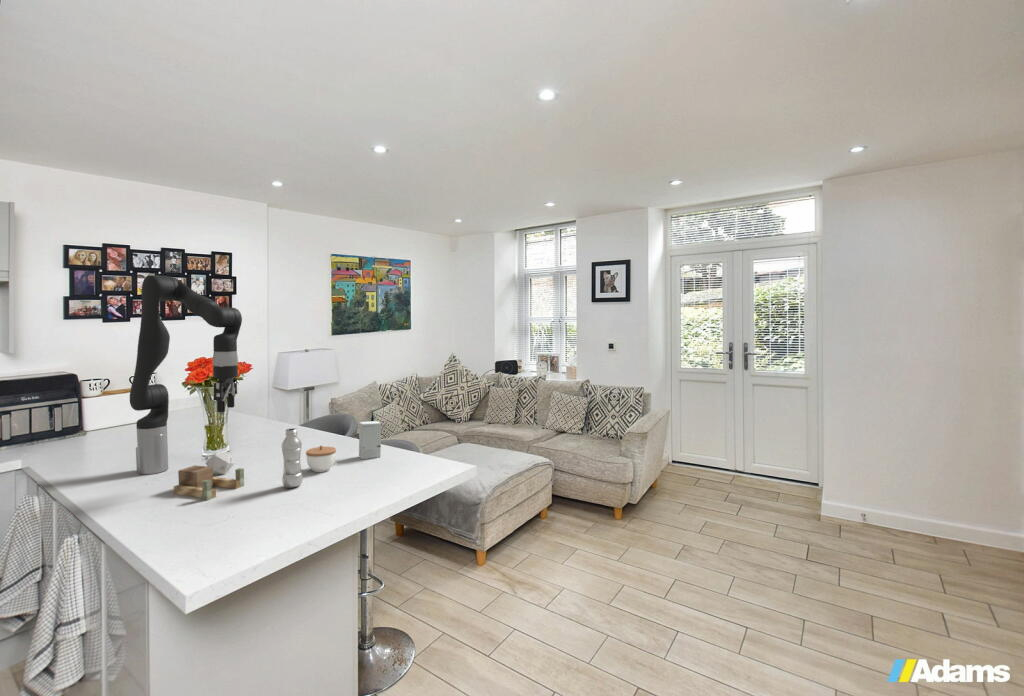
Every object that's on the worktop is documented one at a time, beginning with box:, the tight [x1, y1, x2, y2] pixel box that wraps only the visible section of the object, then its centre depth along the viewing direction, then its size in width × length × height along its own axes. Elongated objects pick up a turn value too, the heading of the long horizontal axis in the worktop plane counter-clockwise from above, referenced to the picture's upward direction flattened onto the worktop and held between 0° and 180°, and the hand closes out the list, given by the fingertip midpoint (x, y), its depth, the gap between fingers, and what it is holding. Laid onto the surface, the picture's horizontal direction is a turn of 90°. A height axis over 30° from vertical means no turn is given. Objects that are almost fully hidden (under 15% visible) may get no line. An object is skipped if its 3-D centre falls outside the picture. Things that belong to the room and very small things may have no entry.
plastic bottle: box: [281, 427, 303, 489], centre depth 163 cm, size 6×7×20 cm
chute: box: [173, 467, 245, 501], centre depth 160 cm, size 16×14×6 cm
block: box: [177, 465, 214, 489], centre depth 161 cm, size 8×6×7 cm
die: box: [205, 451, 236, 475], centre depth 178 cm, size 8×9×10 cm
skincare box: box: [358, 420, 382, 460], centre depth 200 cm, size 8×6×15 cm
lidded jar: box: [305, 445, 337, 473], centre depth 182 cm, size 11×11×9 cm
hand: (226, 409), depth 167 cm, fingers open, 8 cm apart
